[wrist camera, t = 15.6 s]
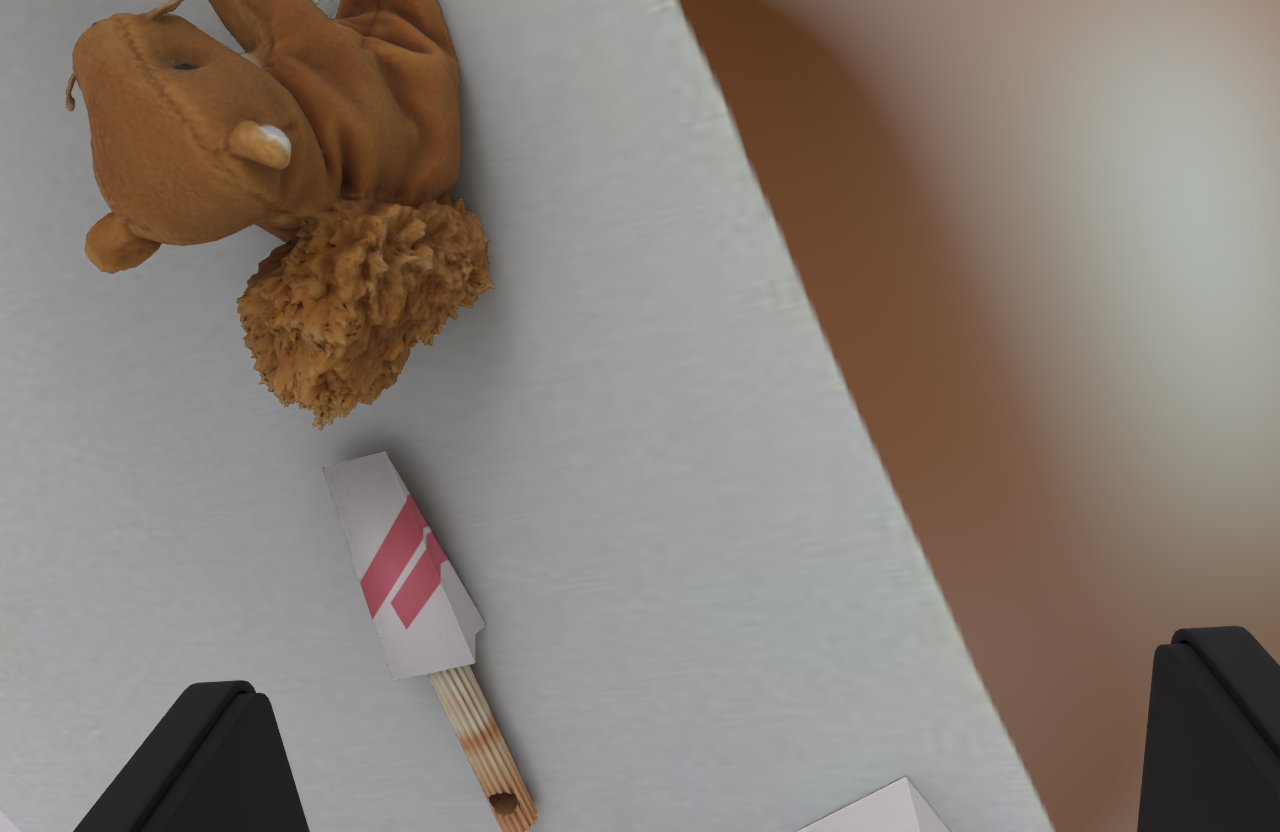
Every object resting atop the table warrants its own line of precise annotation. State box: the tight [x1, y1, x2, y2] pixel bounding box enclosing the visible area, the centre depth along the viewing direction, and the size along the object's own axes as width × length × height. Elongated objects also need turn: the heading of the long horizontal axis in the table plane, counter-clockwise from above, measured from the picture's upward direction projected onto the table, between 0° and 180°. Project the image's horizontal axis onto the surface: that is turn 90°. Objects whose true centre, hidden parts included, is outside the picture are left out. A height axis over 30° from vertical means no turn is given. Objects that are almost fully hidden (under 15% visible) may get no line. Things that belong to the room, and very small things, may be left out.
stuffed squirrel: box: [66, 0, 494, 431], centre depth 30 cm, size 10×14×13 cm
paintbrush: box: [323, 451, 537, 832], centre depth 43 cm, size 4×3×20 cm
